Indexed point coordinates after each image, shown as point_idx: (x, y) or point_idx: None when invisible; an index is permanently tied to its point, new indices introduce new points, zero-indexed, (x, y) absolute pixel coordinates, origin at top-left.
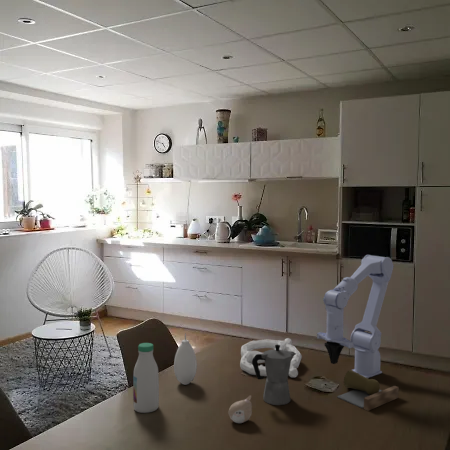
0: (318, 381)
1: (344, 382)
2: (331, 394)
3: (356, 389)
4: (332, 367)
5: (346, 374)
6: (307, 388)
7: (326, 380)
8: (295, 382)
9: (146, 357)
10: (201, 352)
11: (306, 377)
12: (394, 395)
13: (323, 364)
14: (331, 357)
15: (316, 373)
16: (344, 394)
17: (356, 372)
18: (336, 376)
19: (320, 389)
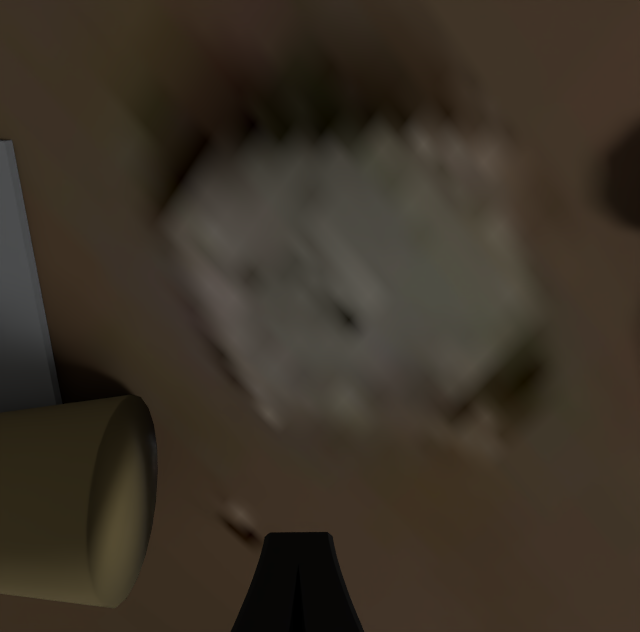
0: (440, 317)
1: (116, 402)
2: (112, 155)
3: None
4: (539, 626)
5: (79, 486)
6: (402, 55)
7: (400, 395)
8: (618, 80)
9: None
10: None
11: (596, 299)
12: None
13: (634, 620)
14: (305, 620)
15: (573, 447)
16: (7, 247)
17: (30, 596)
18: (396, 523)
19: (284, 165)
